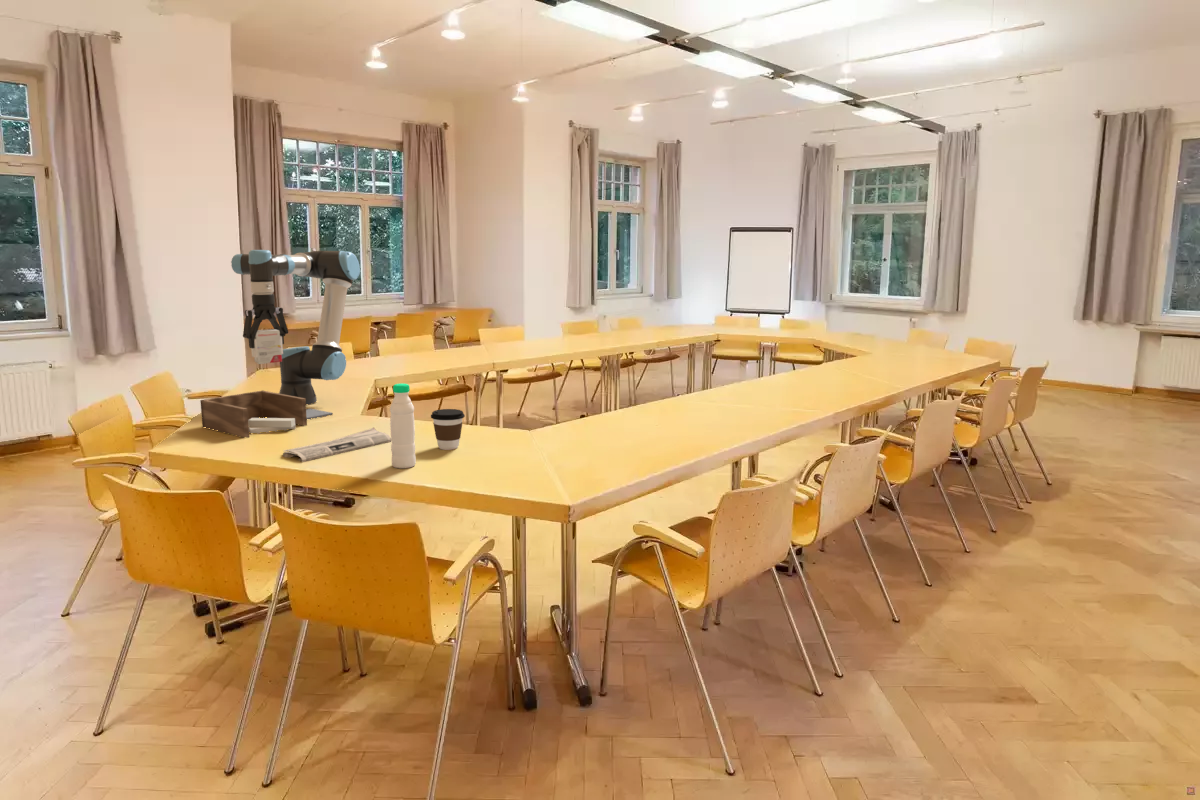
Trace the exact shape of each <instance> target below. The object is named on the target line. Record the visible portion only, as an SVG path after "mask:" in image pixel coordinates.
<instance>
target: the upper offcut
mask: <svg viewBox="0 0 1200 800" xmlns="http://www.w3.org/2000/svg"><path fill="white" fill-rule="evenodd" d="M248 425H249V427H293V426H294V425H295V426H296V424H295V418H264V417H263V418H251V419H249V420H248Z"/></svg>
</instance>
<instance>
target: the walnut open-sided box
mask: <svg viewBox="0 0 1200 800" xmlns="http://www.w3.org/2000/svg"><path fill="white" fill-rule="evenodd" d="M199 402H200V411H201V413H200V414H201V423H202V425H201V426H202V427H201V428H203V427H206V428H210V429H214V430H218V431H217V432H219V431H221V432H220V433H223V432H225V433H224V434H227V433H229V434H228V435H231V434H233V435H232V436H235V435H237V436H236V437H239V436H241V437H240V438H243V437H248V438H250V433H249V425H248V420H249V419H251V418H259V417H263V418H264V417H267V418H295V425H296V424H299V425H298V426H301V425H303V426H302V427H305V426H304V425H306V426H308V420H307V416H306V409H307V405H306V398H300V397H295V396H290V395H284V394H279V392H273V391H269V390H267V391H266V390H257V391H256V390H255V391H250V392H244V393H238V394H232V395H226V396H219V397H212V398H206V399H201V400H200V401H199ZM206 428H205V429H206ZM210 429H209V430H210ZM214 430H213V431H214Z"/></svg>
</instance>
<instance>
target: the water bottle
mask: <svg viewBox="0 0 1200 800" xmlns="http://www.w3.org/2000/svg"><path fill="white" fill-rule="evenodd" d="M392 390H393V391H392V392H393V394H394V398H393V399H392V402H391V404H390V406H389V412H390V423H389V425H390V438H391V445H390V446H391V447H390V448H391V449H390V450H391V451H390V452H391V467H394V468H396V469H409V468H412V467H415V465H416V464H417V463H416V462H417V460H416V443H415V438H416V437H415V435H416V431H415V424H416V423H415V416H414V415H415V414H414V412H415V406H414V405H413V403H412V400H411V397H409V393H410V385H409V384H408V383H402V382H401V383H396V384H394V385H393V387H392Z"/></svg>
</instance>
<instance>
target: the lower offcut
mask: <svg viewBox="0 0 1200 800" xmlns="http://www.w3.org/2000/svg"><path fill="white" fill-rule="evenodd" d="M296 427H297V425H296V424H295V425H294V426H293V427H249V432H250V433H257V434H261V433H260V432H266V433H270V432H269V431H275V432H278V431H277V430H284V431H288V430H287V429H293V430H297V429H296ZM250 433H249V434H250Z"/></svg>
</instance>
